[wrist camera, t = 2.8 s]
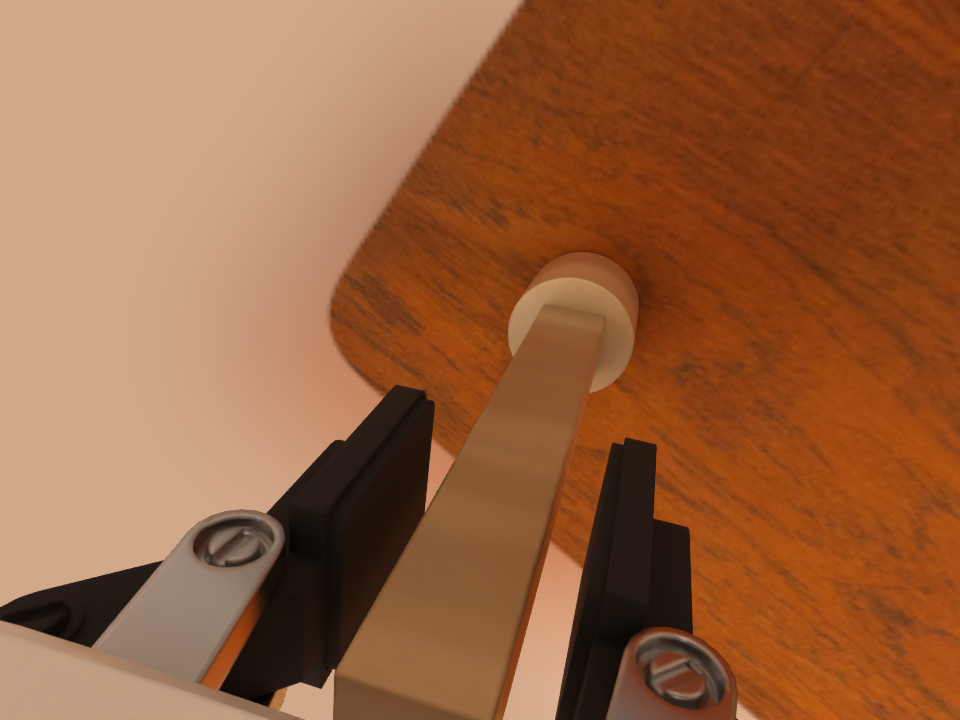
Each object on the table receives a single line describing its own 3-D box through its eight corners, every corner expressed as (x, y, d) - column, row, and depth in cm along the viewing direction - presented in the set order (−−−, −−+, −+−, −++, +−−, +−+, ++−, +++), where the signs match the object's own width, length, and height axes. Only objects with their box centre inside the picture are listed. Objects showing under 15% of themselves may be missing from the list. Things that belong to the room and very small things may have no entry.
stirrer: (536, 242, 21) (254, 585, 7) (650, 262, 20) (595, 690, 6) (520, 345, 23) (262, 800, 8) (626, 367, 22) (538, 903, 8)
